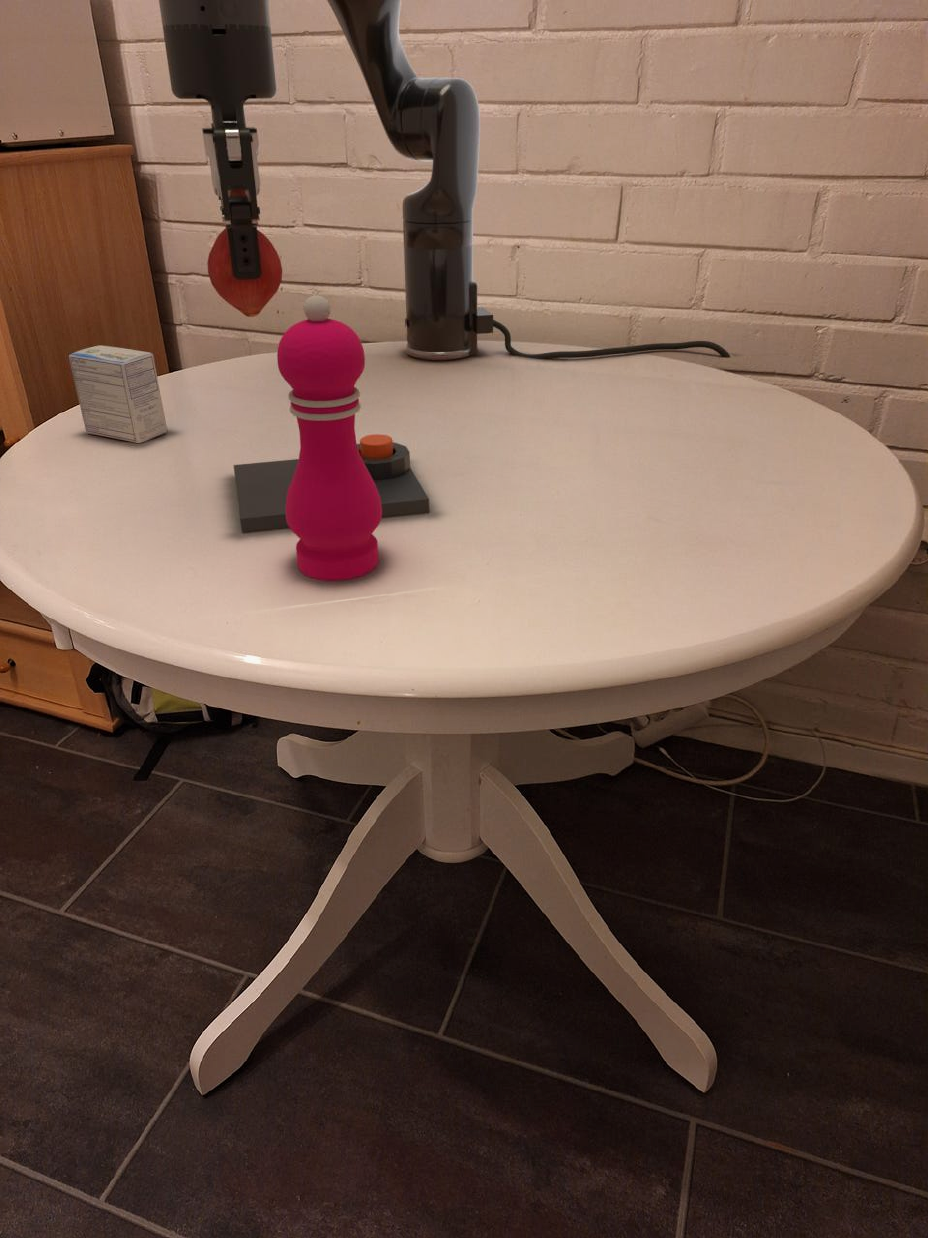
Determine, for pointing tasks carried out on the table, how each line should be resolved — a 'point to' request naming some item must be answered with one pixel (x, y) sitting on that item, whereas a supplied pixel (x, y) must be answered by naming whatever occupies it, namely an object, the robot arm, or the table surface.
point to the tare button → (376, 446)
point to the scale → (270, 481)
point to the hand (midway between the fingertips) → (245, 270)
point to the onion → (244, 292)
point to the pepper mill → (328, 449)
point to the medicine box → (118, 393)
